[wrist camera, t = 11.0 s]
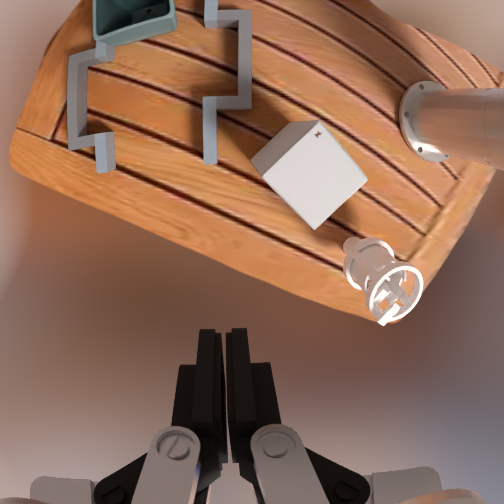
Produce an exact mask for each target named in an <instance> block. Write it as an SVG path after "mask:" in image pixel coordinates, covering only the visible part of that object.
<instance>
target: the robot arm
mask: <svg viewBox="0 0 504 504" xmlns="http://www.w3.org/2000/svg"><path fill="white" fill-rule="evenodd" d="M399 122H400V127H401V132H402V134H403V137H404V139H405V141H406V143H407V145H408V146H409V148H410V149H411V150H412V151H413V152H414V153H415V154H416V155H417V156H418V157H420V158H422V159H424V160H427V161H430V162H442V161H445V160H447V159H448V158H450V157H451V156H453V157H457V158H461V159H465V160H469V161H473V162H477V163H480V164H484V165H487V166H491V167H494V168H497V169H501V170H504V88H468V89H446V88H445V87H443V86H442V85H440V84H438V83H436V82H433V81H420V82H416V83H414V84H412V85H411V86H410V87H409V88H408V89H407V90H406V91H405V93H404V94H403V97H402V99H401V103H400V107H399ZM247 337H248V336H247V329H246V328H232V332H230V333H226V378H227V414H228V426H229V436H230V444H231V452H232V460H233V463H239V468H240V476H242V477H243V478H244V479H246V480H247V481H249V482H250V483H251V486H252V489H253V493H254V496H255V499H256V502H257V504H487V503H486V501H485V500H484V499H483V498H482V497H481V496H480V495H479V494H478V493H477V492H475V491H473V490H469V489H447V490H442V487H441V481H440V477H439V474H438V472H436V471H435V470H434V469H432V468H430V467H418V468H412V469H406V470H397V471H389V472H380V473H372V475H365V476H361V475H360V474H358V473H356V472H353V471H351V470H349V469H347V468H345V467H343V466H341V465H339V464H337V463H335V462H333V461H331V460H329V459H327V458H325V457H323V456H321V455H319V454H317V453H315V452H313V451H311V450H309V449H307V448H306V447H304V445H303V443H302V440H301V438H300V436H299V435H298V433H297V432H296V431H295V430H293V429H292V428H290V427H288V426H286V425H282V424H281V419H280V413H279V408H278V402H277V397H276V392H275V386H274V381H273V375H272V370H271V365H270V363H269V362H264V363H250V355H249V346H248V338H247ZM226 423H227V421H226V385H225V373H224V362H223V350H222V338H221V333H216V332H215V329H200V332H199V341H198V351H197V361H196V365H180V367H179V372H178V379H177V386H176V393H175V400H174V407H173V416H172V423H171V427H167V428H165V429H163V430H160V431H159V432H158V433H157V434H156V435H155V436H154V438H153V440H152V442H151V445H150V448H149V451H148V452H147V453H146V454H144V455H142V456H141V457H140V458H138V459H136V460H135V461H133V462H131V463H130V464H128V465H126V466H125V467H123V468H121V469H120V470H118V471H116V472H115V473H113V474H111V475H109V476H108V477H106V478H104V479H102V480H101V481H100V482H92V481H91V480H85V479H67V478H56V477H45V476H44V477H38V478H36V479H35V480H34V481H33V482H32V484H31V488H30V499H28V498H19V497H17V498H16V497H15V498H14V497H10V498H3V499H0V504H209V500H210V495H211V489H212V483H213V482H214V481H215V480H216V479H217V478H219V477H220V476H221V475H220V474H221V473H220V470H222V463H228V452H227V451H228V450H227V424H226Z"/></svg>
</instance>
